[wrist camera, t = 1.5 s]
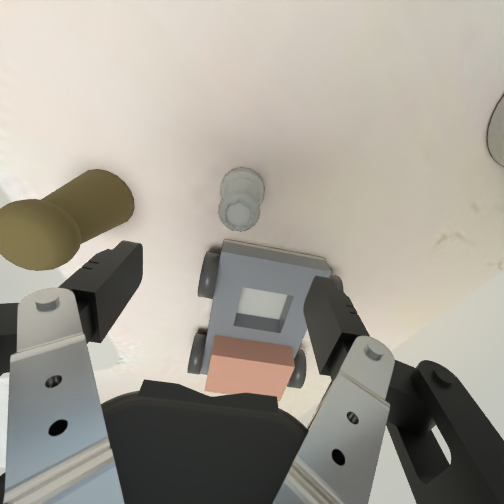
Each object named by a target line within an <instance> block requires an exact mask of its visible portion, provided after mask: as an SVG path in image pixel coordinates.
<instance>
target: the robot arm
mask: <svg viewBox="0 0 504 504" xmlns="http://www.w3.org/2000/svg"><path fill="white" fill-rule="evenodd" d="M488 146H489V150H490V153H491V155H492V157H493V158H494V159H495V160H496V161H497V163H499V164H501V165H502V166H504V96H503V98H502V99H501V101H500V102H499V104H498V106H497V108H496V110H495V112H494V114H493V116H492V119H491V122H490V125H489V130H488ZM142 275H143V247H142V244H140V243H135V242H129V241H121V242H120V243H119V244H118V245H117V246H116V247H115V248H114V249H113V250H110V249H107V250H105V251H102V252H100V253H98V254H96V255H95V256H93V257H92V258H91V259H90V260H89V261H88V262H87V263H85V264H84V265H83V266H82V268H80V269H79V270H77V271H76V272H75V273H74V274H73V275H72V276H71V277H69V278H68V279H67V280H66V281H65V282H64V283H63V284H61V285H60V286H59V287H58V288H47V289H42V290H39V291H36V292H33V293H31V294H29V295H28V296H26V297H25V298H23V299H22V300H21V302H20V303H7V304H0V376H1V375H2V374H3V373H6V372H10V377H9V401H8V426H7V451H6V472H5V473H4V474H2V475H1V476H0V504H368V501H369V496H370V492H371V488H372V484H373V479H374V475H375V471H376V466H377V462H378V458H379V453H380V449H381V445H382V440H383V436H384V431H385V426H387V428H388V431H389V433H390V436H391V438H392V441H393V443H394V446H395V449H396V451H397V454H398V456H399V459H400V462H401V464H402V467H403V469H404V472H405V475H406V477H407V480H408V482H409V485H410V487H411V490H412V493H413V495H414V498H415V500H416V503H417V504H504V440H503V439H502V438H501V436H500V435H499V433H498V432H497V431H496V429H495V428H494V427H493V425H492V424H491V423H490V421H489V420H488V418H487V417H486V416H485V414H484V413H483V412H482V410H481V409H480V408H479V406H478V405H477V404H476V402H475V401H474V400H473V398H472V397H471V395H470V394H469V393H468V391H467V390H466V389H465V387H464V386H463V385H462V383H461V382H460V381H459V379H458V378H457V377H455V375H454V374H453V373H451V372H450V371H449V370H448V369H446V368H445V367H443V366H441V365H440V364H438V363H435V362H432V361H428V360H424V361H421V362H420V363H419V364H418V366H417V367H416V368H414V367H412V366H409V365H407V364H404V363H402V362H399V361H397V360H395V359H394V356H393V354H392V353H391V351H390V350H389V349H388V348H387V347H386V346H385V345H384V344H383V343H381V342H380V341H378V340H376V339H374V338H372V337H370V336H369V334H368V332H367V330H366V328H365V326H364V324H363V323H362V321H361V319H360V317H359V315H357V311H356V310H355V308H354V306H353V304H352V302H351V300H350V298H349V297H348V296H347V295H346V294H345V293H344V292H343V291H341V290H338V288H337V286H336V284H335V282H334V280H333V279H332V278H328V277H322V276H315V277H314V279H313V281H312V284H311V286H310V289H309V291H308V294H307V296H306V299H305V302H304V307H303V312H304V317H305V320H306V324H307V328H308V332H309V336H310V339H311V343H312V347H313V351H314V355H315V358H316V362H317V366H318V370H319V374H321V375H328V376H331V379H332V381H331V383H330V385H329V387H328V388H327V390H326V392H325V394H324V396H323V398H322V400H321V402H320V404H319V406H318V408H317V409H316V411H315V413H314V415H313V417H312V419H311V421H310V422H309V424H308V426H307V428H306V427H305V426H304V425H303V424H301V423H300V422H299V421H298V420H297V419H296V418H295V417H293V416H292V415H290V414H289V413H287V412H285V411H283V410H281V409H279V408H278V401H277V396H269V395H261V394H253V393H238V394H231V395H224V396H217V397H210V396H207V395H204V394H202V393H199V392H197V391H194V390H192V389H189V388H187V387H185V386H182V385H180V384H175V383H167V382H159V381H151V380H144V381H143V384H142V386H141V388H140V391H135V392H130V393H126V394H123V395H120V396H117V397H115V398H113V399H110V400H108V401H106V402H104V403H103V404H100V399H99V395H98V391H97V386H96V382H95V378H94V373H93V369H92V365H91V360H90V356H89V352H88V347H87V343H88V342H89V341H90V342H97V343H101V342H102V341H103V339H104V338H105V336H106V335H107V333H108V332H109V330H110V329H111V327H112V326H113V324H114V323H115V321H116V320H117V318H118V317H119V315H120V314H121V312H122V311H123V309H124V308H125V306H126V305H127V303H128V302H129V300H130V299H131V297H132V296H133V294H134V293H135V291H136V290H137V288H138V287H139V285H140V283H141V280H142ZM435 425H437V427H438V429H439V430H440V432H441V434H442V436H443V437H444V439H445V441H446V443H447V445H448V447H449V449H450V452H451V464H450V465H449V463H448V461H447V459H446V457H445V455H444V453H443V451H442V449H441V448H440V446H439V444H438V442H437V440H436V438H435V436H434V434H433V432H432V431H431V429H432V428H433V427H434V426H435Z"/></svg>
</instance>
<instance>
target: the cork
mask: <svg viewBox="0 0 504 504" xmlns="http://www.w3.org/2000/svg"><path fill="white" fill-rule="evenodd" d="M133 211H134V199H133V196H132V193H131V191H130V189H129V188H128V186H127V185H126V184H125V182H124V181H122V180H121V179H120V178H119V177H118V176H116V175H114V174H112V173H110V172H108V171H105V170H99V169H95V170H88V171H87V172H85V173H83V174H82V175H80V176H78V177H77V178H75V179H73V180H72V181H70V182H69V183H67V184H65V185H64V186H62V187H61V188H59V189H57V190H56V191H54V192H53V193H51V194H49V195H48V196H46V197H45V198H43V199H41V200H37V199H27V200H20V201H15V202H12V203H9V204H7V205H6V206H4V207H2V208H1V209H0V254H1V255H2V256H3V257H4V258H6V259H7V260H8V261H10V262H11V263H13V264H15V265H16V266H19V267H22V268H25V269H28V270H35V271H41V270H50V269H54V268H57V267H59V266H61V265H63V264H65V263H67V262H68V261H70V260H71V259H72V258H73V256H74V255H75V254H76V253H77V251H78V250H79V248H80V244H82V243H84V242H86V241H88V240H90V239H92V238H94V237H96V236H98V235H100V234H102V233H104V232H106V231H108V230H110V229H112V228H114V227H116V226H118V225H120V224H122V223H124V222H126V221H128V219H129V218H130V217H131V216H132V214H133Z"/></svg>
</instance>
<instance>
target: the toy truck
mask: <svg viewBox="0 0 504 504" xmlns="http://www.w3.org/2000/svg"><path fill="white" fill-rule="evenodd" d="M315 276H322V277H328V278H332V279H333V280H334V282H335V284H336V286H337V288H338V290H341V291H343V284H342V281H341V279H340V277H339V276H336V275H331V270H330V268H329V266H328V264H327V262H326V260H325V258H322V257H317V256H311V255H306V254H301V253H295V252H290V251H285V250H280V249H274V248H269V247H264V246H259V245H253V244H248V243H243V242H238V241H232V240H227V239H224V242H223V246H222V250H221V254H217V253H211V252H206V254H205V258H204V261H203V265H202V270H201V275H200V280H199V287H198V296H199V297H205V298H211V299H213V303H212V309H211V314H210V320H209V326H208V332H207V335H204V334H198V333H196V334H195V337H194V341H193V345H192V349H191V354H190V359H189V364H188V373H193V374H206V375H207V380H206V386H205V391H208V392H215V393H223V394H230V395H231V394H238V393H253V394H261V395H269V396H277V401H280V400H281V397H282V395H283V393H284V391H285V388H286V386H287V387H294V388H301V387H302V386H303V384H304V381H305V377H306V357H305V353H304V351H303V350H302V349H299V347H300V344H301V342H302V340H303V337H304V335H305V333H306V330H307V324H306V320H305V317H304V312H303V307H304V302H305V299H306V296H307V294H308V291H309V289H310V286H311V284H312V281H313V279H314V277H315ZM200 372H201V373H200Z"/></svg>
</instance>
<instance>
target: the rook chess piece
mask: <svg viewBox="0 0 504 504" xmlns="http://www.w3.org/2000/svg"><path fill="white" fill-rule="evenodd" d="M264 190H265V189H264V184H263V180H262V179H261V178H260V176H259V175H258V174H257V173H256V172H254V171H253V170H251V169H248V168H241V167H240V168H237V169H233V170H231V171H230V172H229V173H228V174H226V175H225V177H224V179H223V181H222V183H221V191H220V195H221V198H222V200H221V202H220V204H219V210H218V214H219V217H220V220H221V221H222V223H223V224H224V225H225V226H226V227H228V228H229V229H231V230H233V231H234V230H235V231H240V232H241V231H245V230H248V229H250V228H251V227H253V226H254V225H255V224H256V222H257V221H258V219H259V215H260V208H259V205H260V204H261V202H262V200H263V196H264Z"/></svg>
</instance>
